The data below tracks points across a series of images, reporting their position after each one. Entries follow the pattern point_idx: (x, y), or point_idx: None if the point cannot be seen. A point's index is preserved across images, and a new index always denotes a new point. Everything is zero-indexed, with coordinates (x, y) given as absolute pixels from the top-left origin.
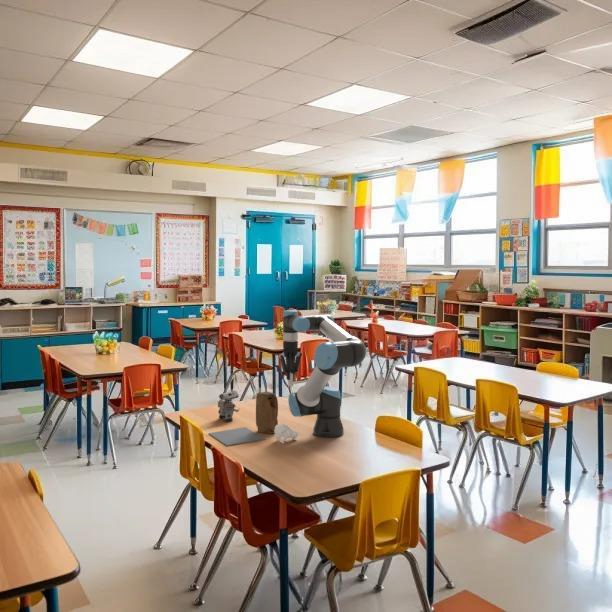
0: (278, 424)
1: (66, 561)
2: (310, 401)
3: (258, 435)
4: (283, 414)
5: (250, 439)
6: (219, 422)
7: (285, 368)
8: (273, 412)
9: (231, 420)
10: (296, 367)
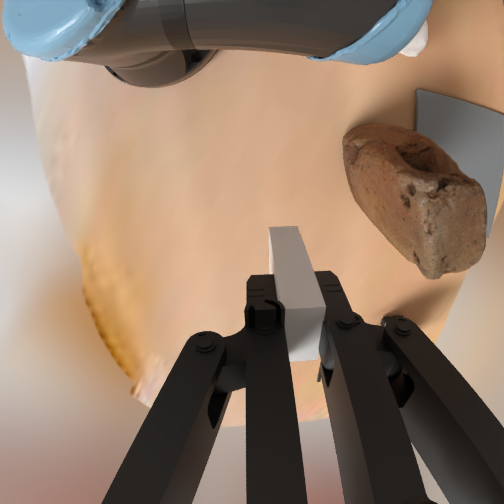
0: (423, 29)
1: None
2: None
3: (421, 130)
4: (208, 317)
5: (455, 112)
6: (412, 317)
7: (437, 366)
8: (408, 132)
9: (385, 318)
10: (206, 389)
